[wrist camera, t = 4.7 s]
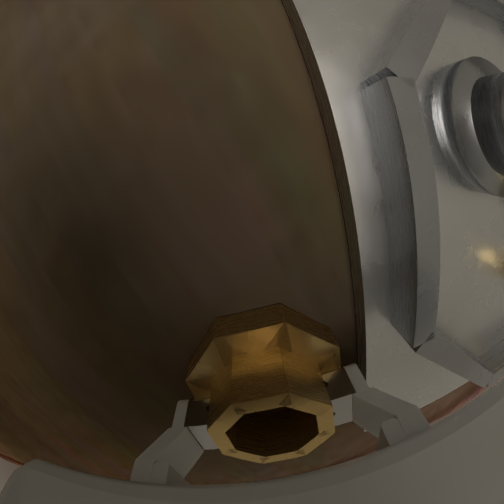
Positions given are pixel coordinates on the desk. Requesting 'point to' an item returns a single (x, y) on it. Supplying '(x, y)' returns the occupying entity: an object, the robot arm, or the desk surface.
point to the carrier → (416, 181)
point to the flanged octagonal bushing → (266, 383)
